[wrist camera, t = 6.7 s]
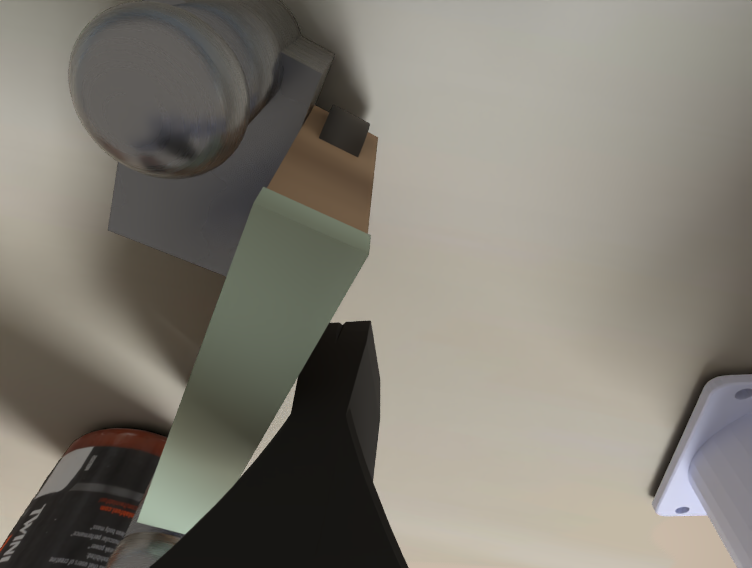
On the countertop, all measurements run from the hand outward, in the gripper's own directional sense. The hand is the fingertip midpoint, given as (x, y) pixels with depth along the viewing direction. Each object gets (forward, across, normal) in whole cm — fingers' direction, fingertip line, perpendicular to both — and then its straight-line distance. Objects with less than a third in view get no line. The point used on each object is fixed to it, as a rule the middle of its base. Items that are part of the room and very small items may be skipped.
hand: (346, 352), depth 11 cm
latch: (+2, +2, -5) cm, 6 cm away
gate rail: (+2, +2, -1) cm, 3 cm away
